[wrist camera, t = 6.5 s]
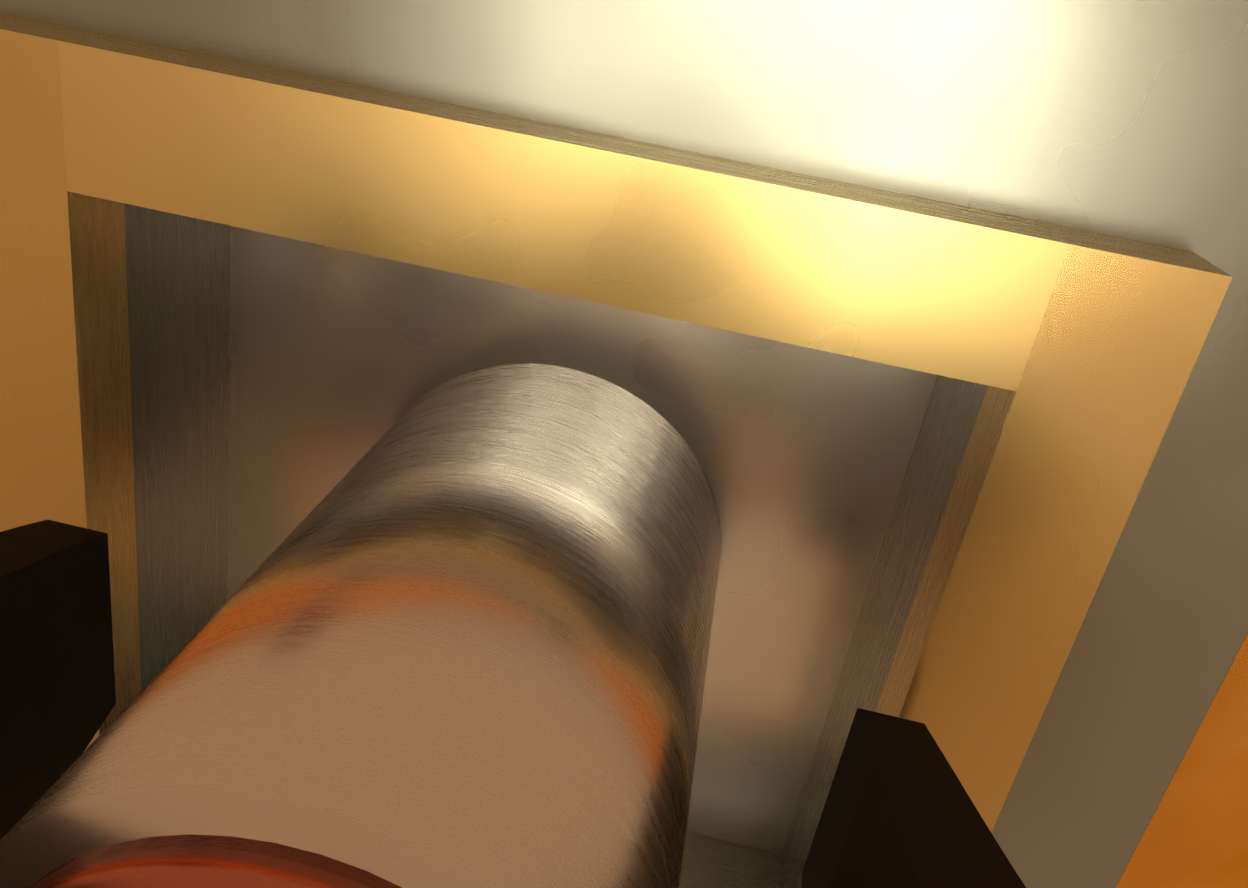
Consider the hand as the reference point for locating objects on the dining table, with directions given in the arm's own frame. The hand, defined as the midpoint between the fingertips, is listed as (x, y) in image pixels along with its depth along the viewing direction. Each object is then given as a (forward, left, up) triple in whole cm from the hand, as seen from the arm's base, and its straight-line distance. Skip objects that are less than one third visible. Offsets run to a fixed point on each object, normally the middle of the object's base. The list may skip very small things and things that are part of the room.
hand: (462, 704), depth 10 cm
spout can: (0, 0, -3) cm, 3 cm away
